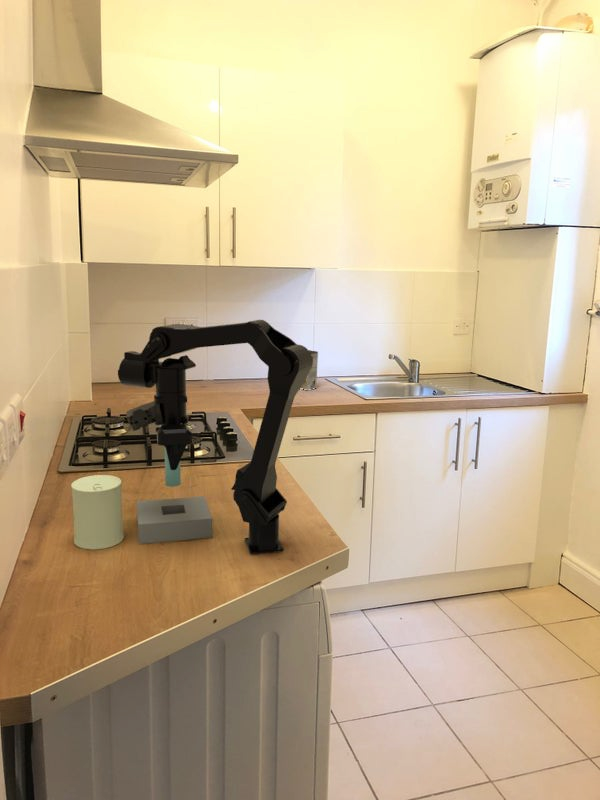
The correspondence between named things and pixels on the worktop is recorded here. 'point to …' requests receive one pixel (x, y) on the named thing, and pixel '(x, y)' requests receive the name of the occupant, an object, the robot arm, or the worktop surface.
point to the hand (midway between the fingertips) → (172, 467)
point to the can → (97, 511)
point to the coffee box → (312, 373)
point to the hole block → (173, 520)
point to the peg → (171, 473)
